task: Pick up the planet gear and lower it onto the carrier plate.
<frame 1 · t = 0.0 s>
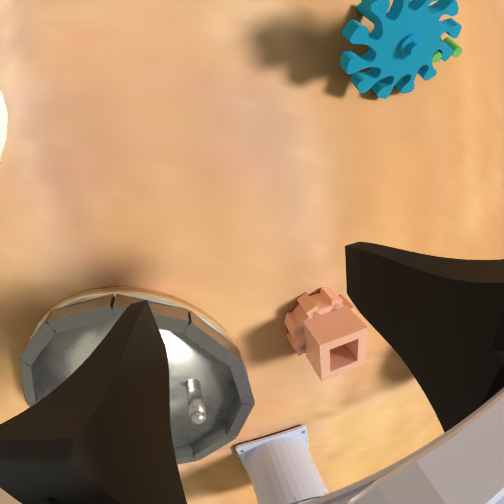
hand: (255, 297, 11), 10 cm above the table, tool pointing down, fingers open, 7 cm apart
blue piece: (377, 50, 18), on the table
carrier plate: (134, 386, 23), on the table
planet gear: (316, 318, 25), on the table
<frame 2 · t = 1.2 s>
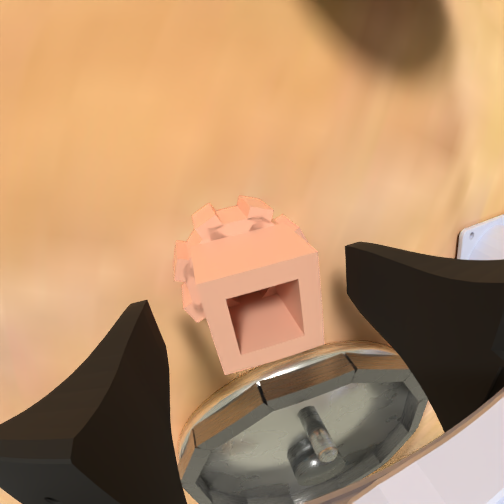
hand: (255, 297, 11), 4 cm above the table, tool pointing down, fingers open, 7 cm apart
carrier plate: (304, 437, 21), on the table
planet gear: (236, 257, 14), on the table
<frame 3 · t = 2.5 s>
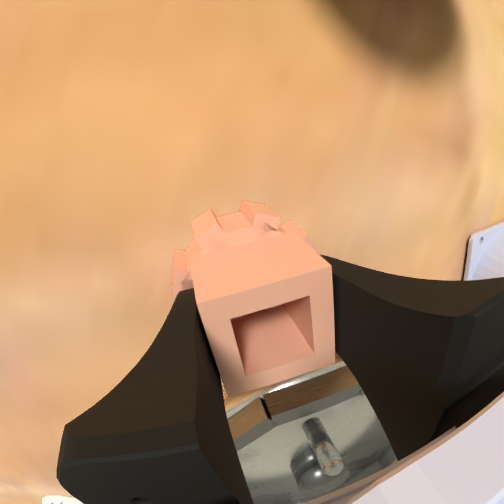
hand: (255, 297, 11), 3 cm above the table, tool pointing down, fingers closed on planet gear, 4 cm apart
carrier plate: (307, 446, 20), on the table
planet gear: (239, 266, 13), on the table, touching gripper
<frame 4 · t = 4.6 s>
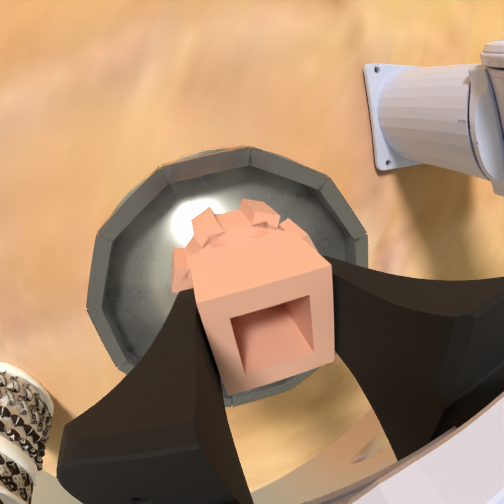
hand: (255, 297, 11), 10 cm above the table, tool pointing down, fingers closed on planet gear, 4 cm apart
carrier plate: (231, 286, 22), on the table
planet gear: (238, 264, 13), point 8 cm above the table, touching gripper
decorative candle: (17, 393, 21), on the table
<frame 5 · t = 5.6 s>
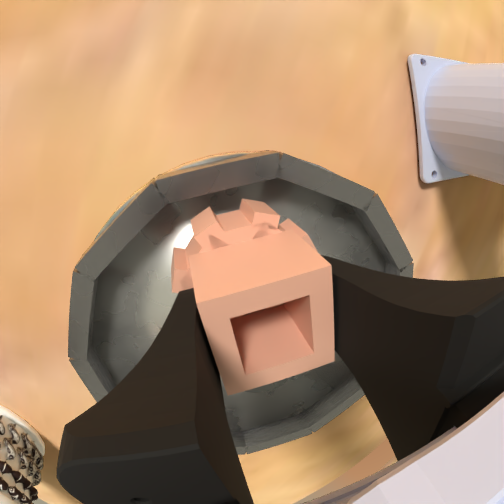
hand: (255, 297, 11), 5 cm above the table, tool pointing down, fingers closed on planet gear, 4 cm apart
carrier plate: (246, 325, 18), on the table
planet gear: (238, 264, 13), point 3 cm above the table, touching gripper
decorative candle: (4, 429, 17), on the table
when the fingers open (5 cm above the table, at t = 6.6 s): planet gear stays where it is, resting on carrier plate.
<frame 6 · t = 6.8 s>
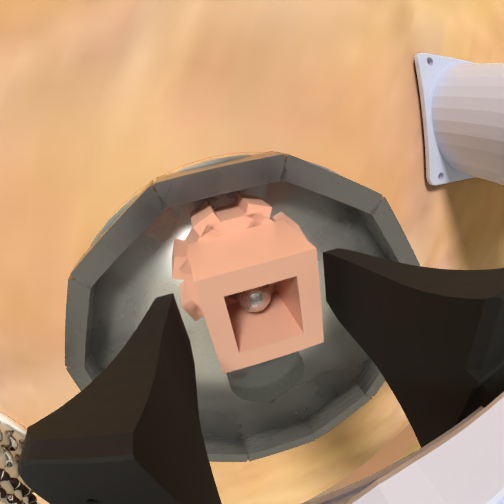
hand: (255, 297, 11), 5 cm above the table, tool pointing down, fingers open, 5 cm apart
carrier plate: (249, 331, 17), on the table
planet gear: (235, 255, 14), point 1 cm above the table, touching carrier plate
decorative candle: (2, 435, 16), on the table
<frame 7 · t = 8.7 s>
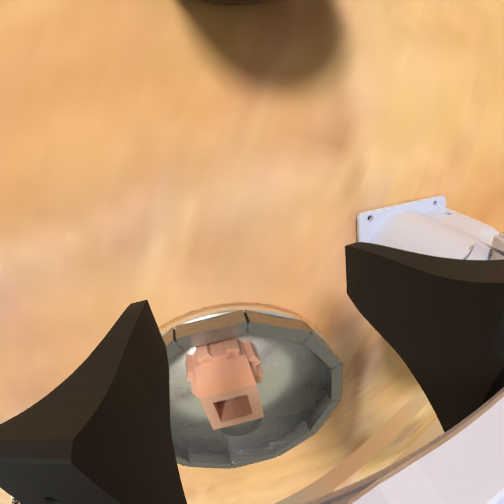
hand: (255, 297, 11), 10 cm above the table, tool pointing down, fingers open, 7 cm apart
carrier plate: (232, 393, 26), on the table
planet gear: (221, 360, 23), point 1 cm above the table, touching carrier plate
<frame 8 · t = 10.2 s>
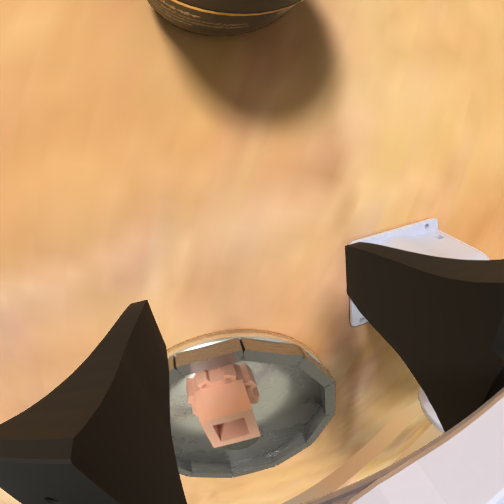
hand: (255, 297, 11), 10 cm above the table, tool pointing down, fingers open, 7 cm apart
carrier plate: (230, 409, 27), on the table
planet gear: (220, 382, 24), point 1 cm above the table, touching carrier plate
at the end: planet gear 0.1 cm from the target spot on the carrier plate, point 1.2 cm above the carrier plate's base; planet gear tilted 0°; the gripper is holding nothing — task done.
